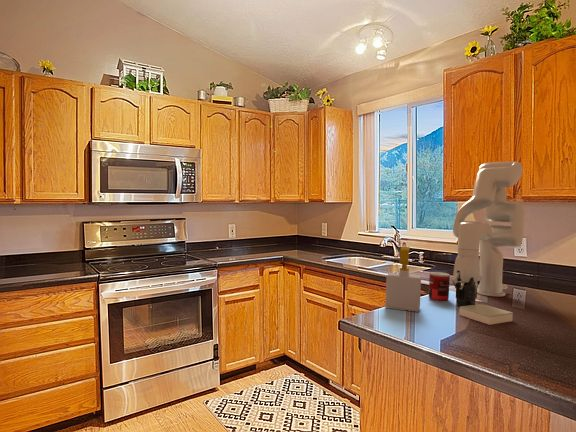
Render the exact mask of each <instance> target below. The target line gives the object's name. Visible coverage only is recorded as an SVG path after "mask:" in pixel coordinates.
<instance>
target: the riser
mask: <svg viewBox="0 0 576 432" xmlns="http://www.w3.org/2000/svg"><path fill="white" fill-rule="evenodd" d="M513 314H514V313H513V312H512V311H509V310H505V309H501V308H498V307H495V306H491V305H487V304H485V303H479V304H478V303H477V304H475V305H469V306H461V307H460V306H459V314H458V315H459V316H462V317H464V318H468V319H471V320H473V321H477V322H480V323H483V324H486V325H495V324H502V323H508V322H513Z"/></svg>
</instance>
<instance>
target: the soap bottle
mask: <svg viewBox="0 0 576 432" xmlns="http://www.w3.org/2000/svg"><path fill="white" fill-rule="evenodd" d="M410 249H411V248H410V247H409V246H400V249H399V263H400V264H401V267H399V272H398V273H397V272H388V274H386V280H385V281H386V283H385V308H386V309H393V310H398V309H400V310H401V311H406V310H408V311H407V312H414V311H415V312H414V313H417V312H420V308H421V294H422V293H421V292H422V291H421V290H422V288H421V287H422V276H421V275H419V274H409V273H410V272H409V271H410V268H408V265H409V263H410V260H409V258H410ZM400 310H399V311H400Z"/></svg>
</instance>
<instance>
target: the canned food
mask: <svg viewBox="0 0 576 432" xmlns="http://www.w3.org/2000/svg"><path fill="white" fill-rule="evenodd" d="M450 275H451V274H450V273H447V272H441V271H431V272H429V278H428V279H429V280H428V298H429V299H430V300H431V301H435V302H436V301H437V302H448V301H449V297H450V277H451V276H450Z"/></svg>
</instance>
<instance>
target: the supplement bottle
mask: <svg viewBox="0 0 576 432" xmlns="http://www.w3.org/2000/svg"><path fill="white" fill-rule="evenodd" d="M473 282H474V277H471V278H470V281H469V282H468V283H465V284H464V286H463V290H464V296H463V300H460V299H457V298H456V306H458V307H459V308H460V307H461V306H469V305H476V300H477V298H476V285H475V284H474V283H473ZM459 284H460V285H461V283H459Z"/></svg>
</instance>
